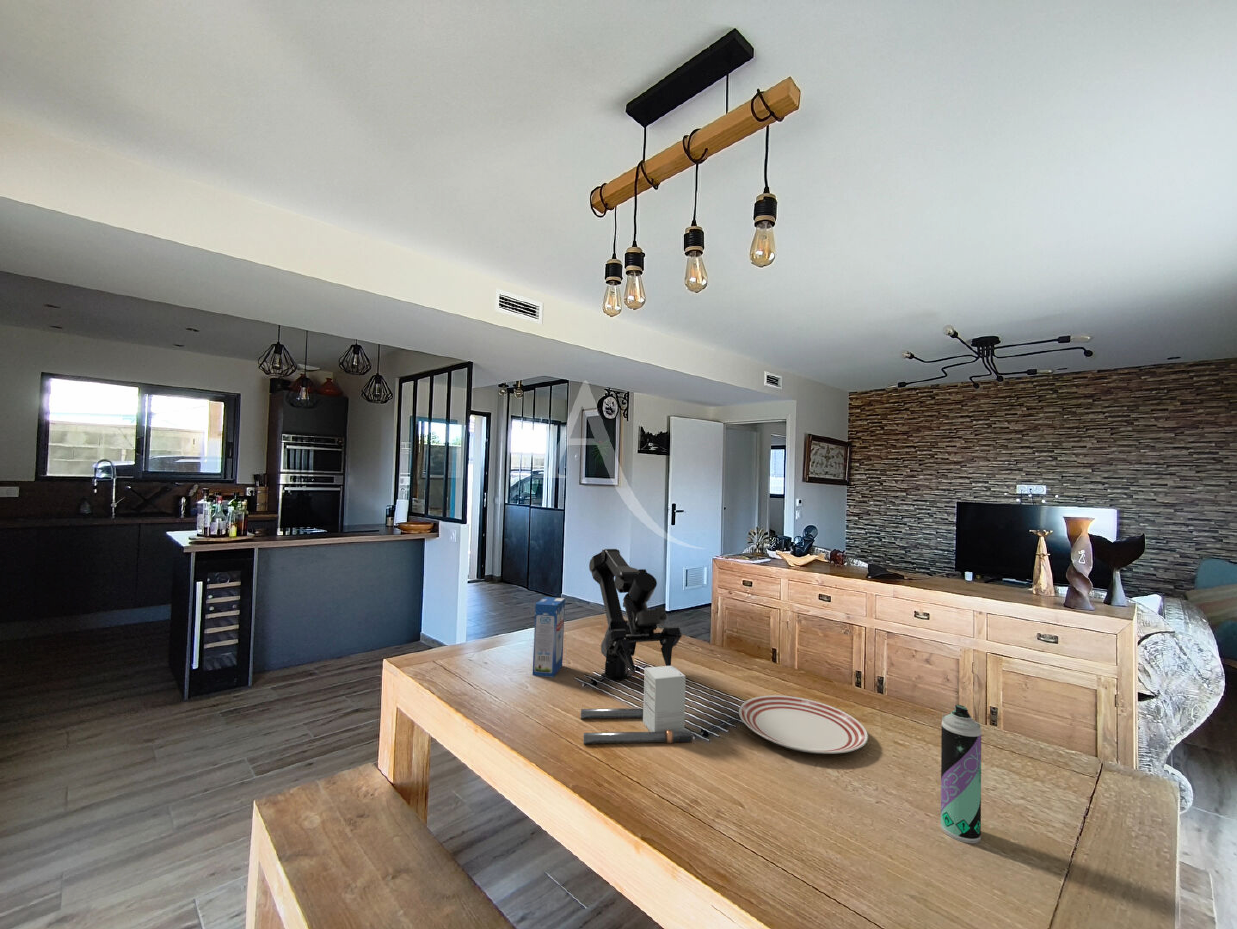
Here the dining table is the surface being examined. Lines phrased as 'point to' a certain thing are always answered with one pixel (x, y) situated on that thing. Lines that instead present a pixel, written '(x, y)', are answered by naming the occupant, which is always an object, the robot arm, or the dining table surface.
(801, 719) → the dinner plate
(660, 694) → the supplement box
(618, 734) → the pipe track
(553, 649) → the milk carton
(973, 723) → the spray can
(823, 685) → the dining table surface
